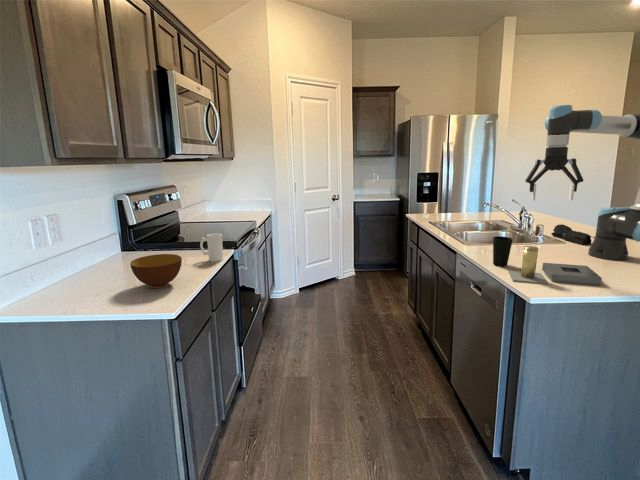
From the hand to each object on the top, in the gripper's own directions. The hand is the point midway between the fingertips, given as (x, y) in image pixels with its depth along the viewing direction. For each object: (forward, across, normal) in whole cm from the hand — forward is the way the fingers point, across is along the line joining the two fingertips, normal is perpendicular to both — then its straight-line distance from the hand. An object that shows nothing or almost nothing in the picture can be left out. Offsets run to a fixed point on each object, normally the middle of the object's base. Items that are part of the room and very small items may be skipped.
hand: (551, 200), depth 158 cm
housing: (+29, -6, +11) cm, 32 cm away
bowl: (+24, +145, +62) cm, 160 cm away
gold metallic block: (+28, +10, +16) cm, 34 cm away
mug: (+25, +144, +26) cm, 149 cm away
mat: (+29, +10, +16) cm, 34 cm away
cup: (+29, +18, 0) cm, 34 cm away
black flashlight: (+31, -27, -60) cm, 72 cm away
